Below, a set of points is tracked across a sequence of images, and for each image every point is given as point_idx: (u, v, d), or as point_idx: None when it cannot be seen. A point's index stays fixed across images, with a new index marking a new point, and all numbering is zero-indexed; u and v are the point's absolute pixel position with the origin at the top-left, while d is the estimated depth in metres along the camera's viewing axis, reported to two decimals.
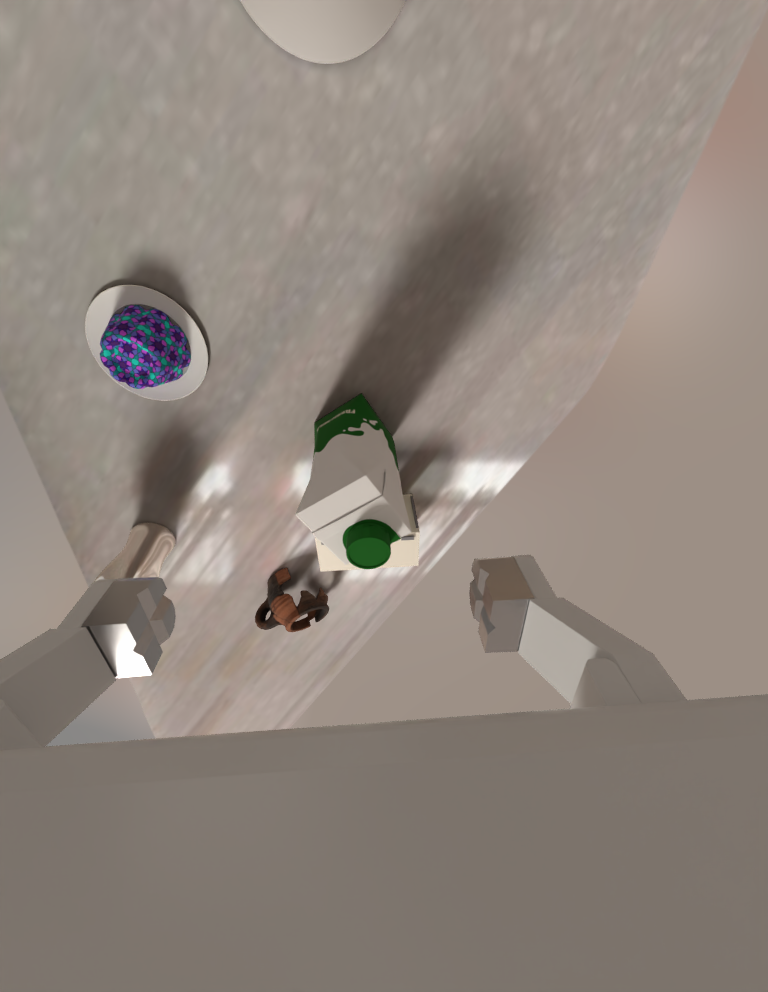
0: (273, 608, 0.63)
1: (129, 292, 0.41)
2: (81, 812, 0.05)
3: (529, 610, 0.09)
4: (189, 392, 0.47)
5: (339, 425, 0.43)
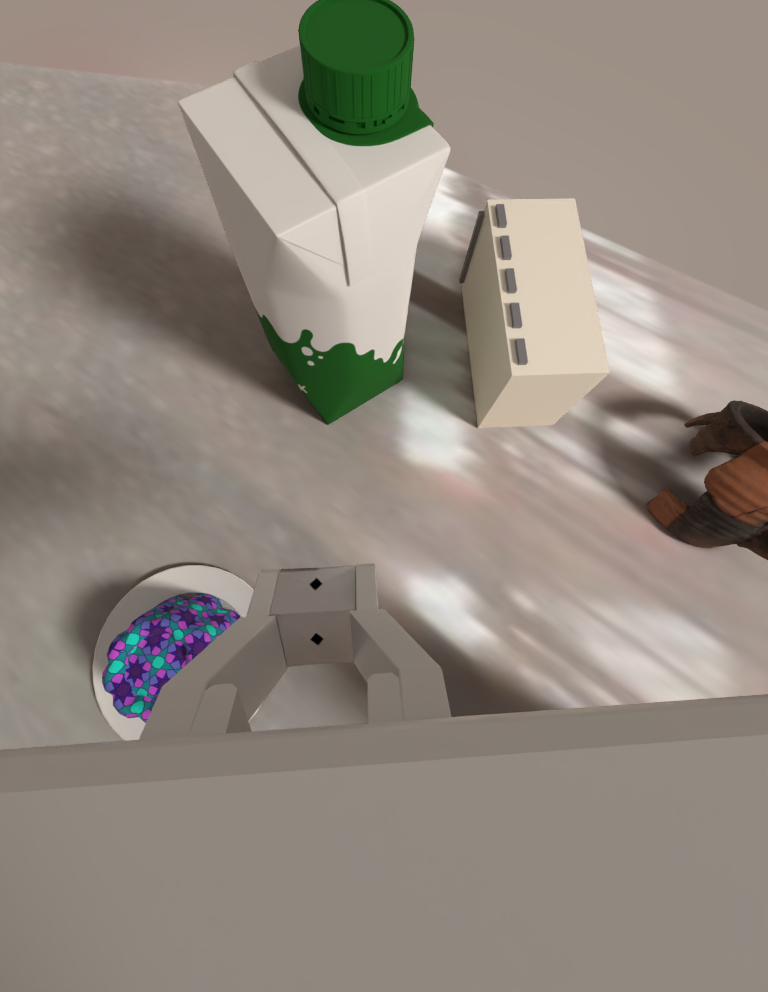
0: (757, 513, 0.26)
1: None
2: (81, 812, 0.05)
3: (350, 621, 0.09)
4: None
5: None
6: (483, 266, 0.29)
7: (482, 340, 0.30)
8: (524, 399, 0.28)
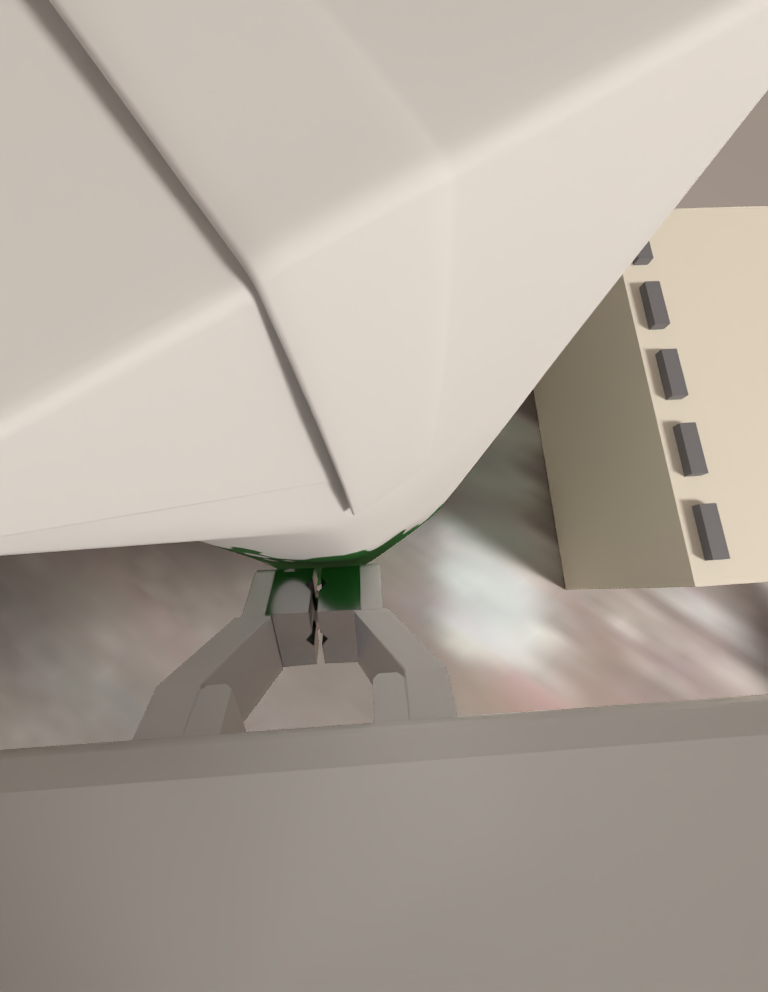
0: None
1: None
2: (81, 812, 0.05)
3: (355, 621, 0.09)
4: None
5: None
6: (591, 331, 0.16)
7: (584, 457, 0.17)
8: None
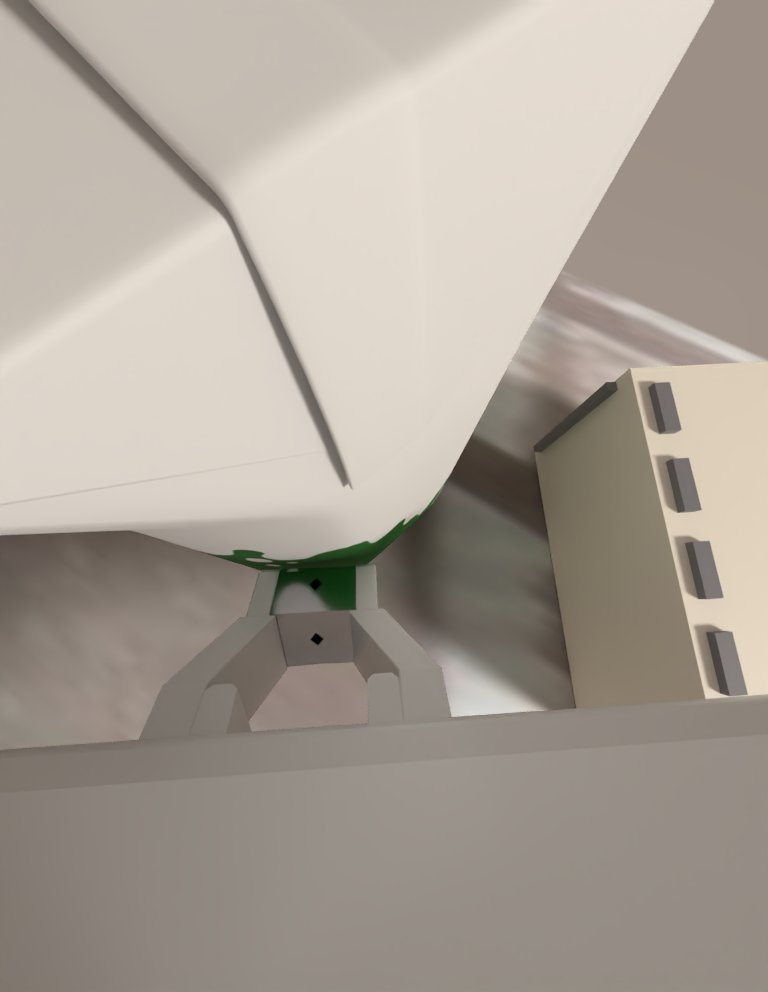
0: None
1: None
2: (81, 812, 0.05)
3: (350, 621, 0.09)
4: None
5: None
6: (610, 483, 0.15)
7: (601, 608, 0.16)
8: None
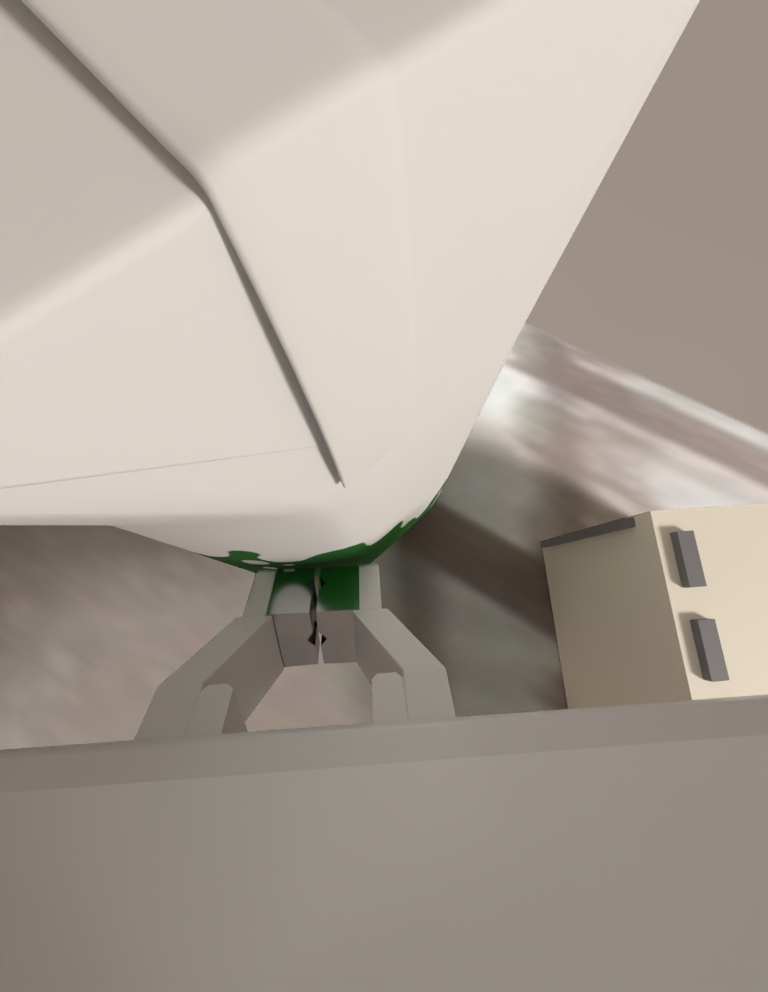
0: None
1: None
2: (81, 812, 0.05)
3: (354, 621, 0.09)
4: None
5: None
6: (627, 618, 0.14)
7: None
8: None
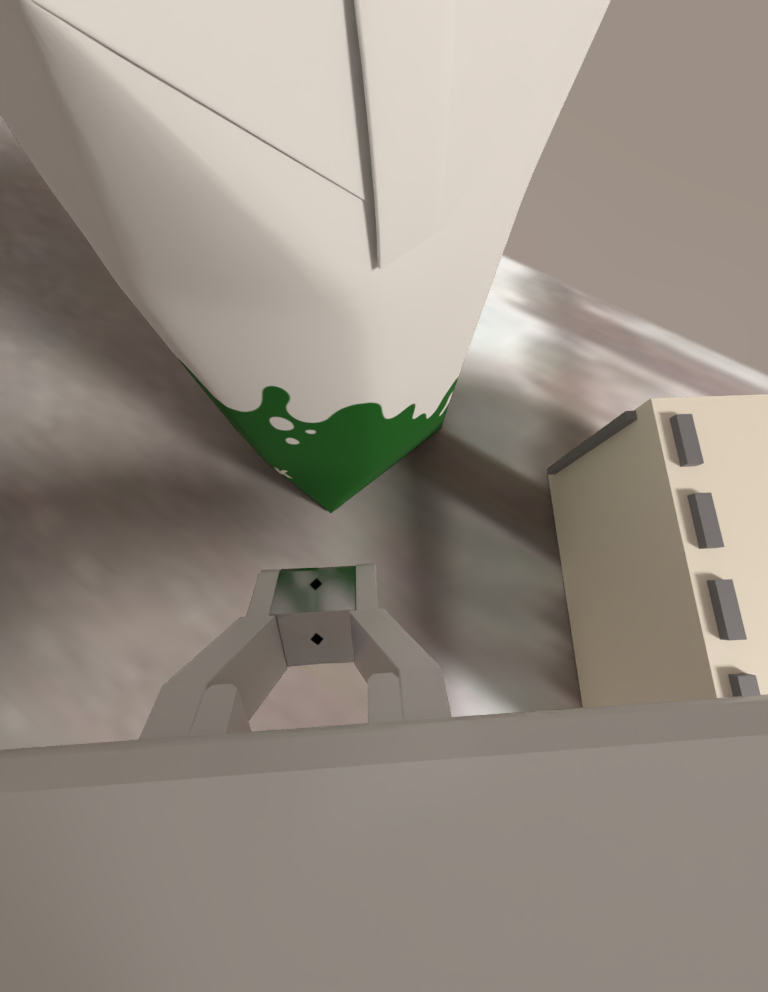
0: None
1: None
2: (81, 812, 0.05)
3: (350, 621, 0.09)
4: None
5: None
6: (628, 513, 0.15)
7: (616, 639, 0.16)
8: None
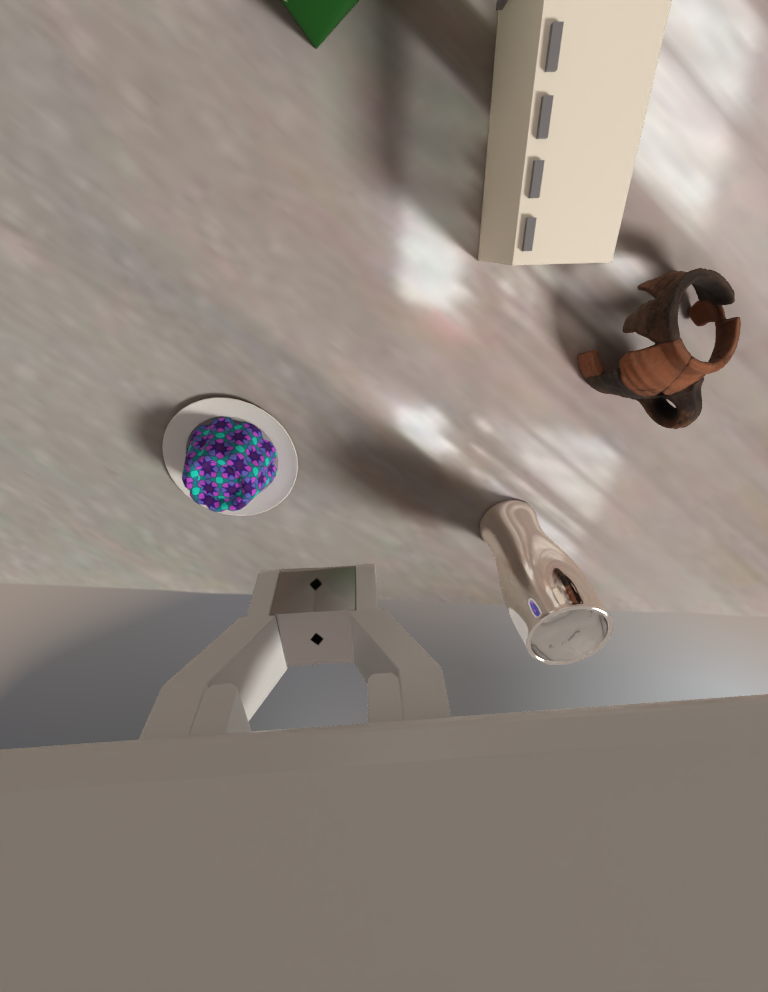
0: (647, 391, 0.32)
1: None
2: (81, 812, 0.05)
3: (350, 621, 0.09)
4: (261, 410, 0.36)
5: None
6: (524, 46, 0.21)
7: (501, 162, 0.25)
8: None
